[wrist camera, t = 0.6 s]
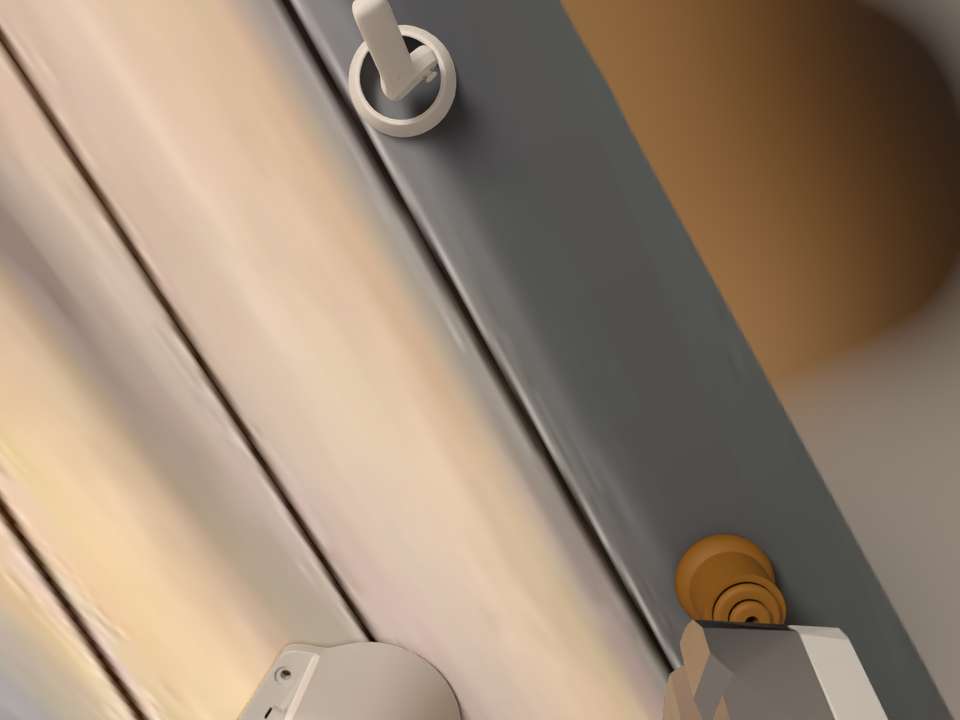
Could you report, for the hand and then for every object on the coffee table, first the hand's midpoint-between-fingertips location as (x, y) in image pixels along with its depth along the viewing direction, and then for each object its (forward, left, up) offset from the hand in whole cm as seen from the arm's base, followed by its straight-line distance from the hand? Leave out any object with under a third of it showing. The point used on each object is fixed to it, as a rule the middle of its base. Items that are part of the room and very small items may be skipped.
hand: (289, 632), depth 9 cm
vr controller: (+7, +13, -55) cm, 57 cm away
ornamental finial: (-3, -30, -54) cm, 62 cm away
